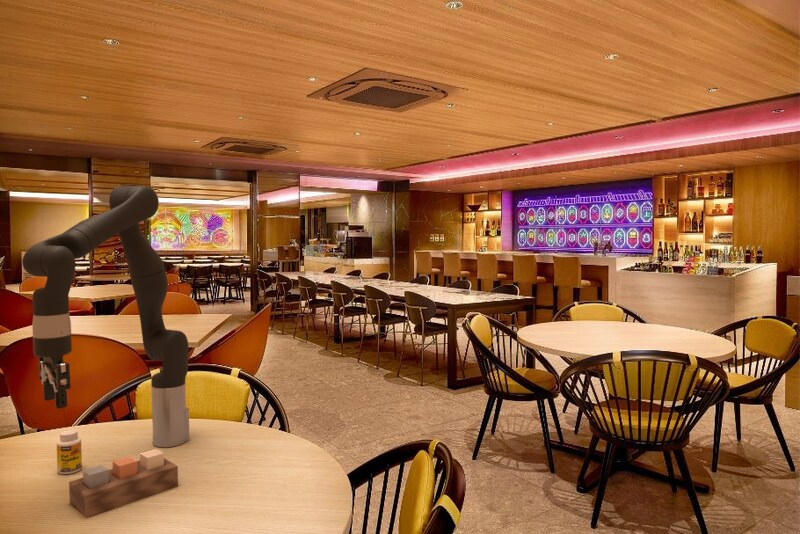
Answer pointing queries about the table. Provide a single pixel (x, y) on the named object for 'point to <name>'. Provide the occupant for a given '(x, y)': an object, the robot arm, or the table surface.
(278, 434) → the table surface
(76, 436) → the supplement bottle
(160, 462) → the ivory key
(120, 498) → the frame
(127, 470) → the terracotta key
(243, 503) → the table surface
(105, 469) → the slate key
